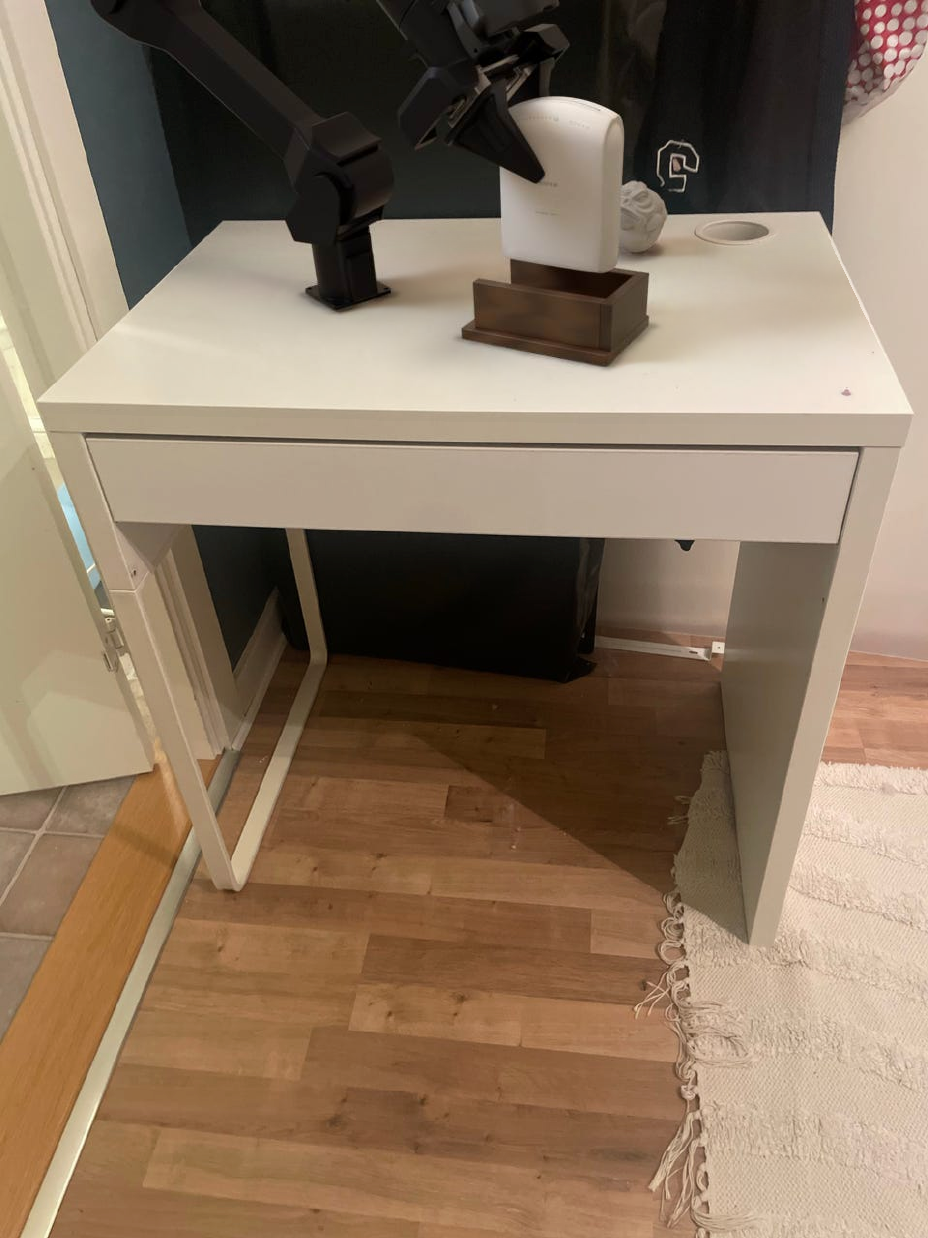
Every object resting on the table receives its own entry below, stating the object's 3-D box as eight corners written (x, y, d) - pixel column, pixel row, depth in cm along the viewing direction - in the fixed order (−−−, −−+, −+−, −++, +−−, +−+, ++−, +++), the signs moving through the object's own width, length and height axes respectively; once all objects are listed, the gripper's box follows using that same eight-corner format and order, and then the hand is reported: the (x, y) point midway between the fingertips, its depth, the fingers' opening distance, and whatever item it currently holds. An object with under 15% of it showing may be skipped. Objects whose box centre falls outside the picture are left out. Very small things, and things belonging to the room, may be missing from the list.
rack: (461, 338, 84) (458, 282, 81) (510, 302, 90) (509, 248, 87) (606, 366, 78) (608, 307, 75) (648, 326, 84) (652, 269, 81)
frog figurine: (590, 256, 98) (591, 184, 94) (629, 236, 102) (632, 167, 98) (639, 267, 95) (643, 194, 91) (677, 247, 99) (683, 175, 94)
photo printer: (493, 260, 81) (490, 98, 73) (519, 244, 84) (518, 86, 76) (602, 280, 77) (611, 110, 69) (625, 262, 79) (636, 97, 71)
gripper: (420, -74, 61) (570, 128, 64) (549, -100, 73) (671, 71, 76) (337, 58, 70) (473, 232, 72) (465, 16, 82) (578, 166, 84)
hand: (553, 171), depth 76 cm, fingers closed on photo printer, 4 cm apart
